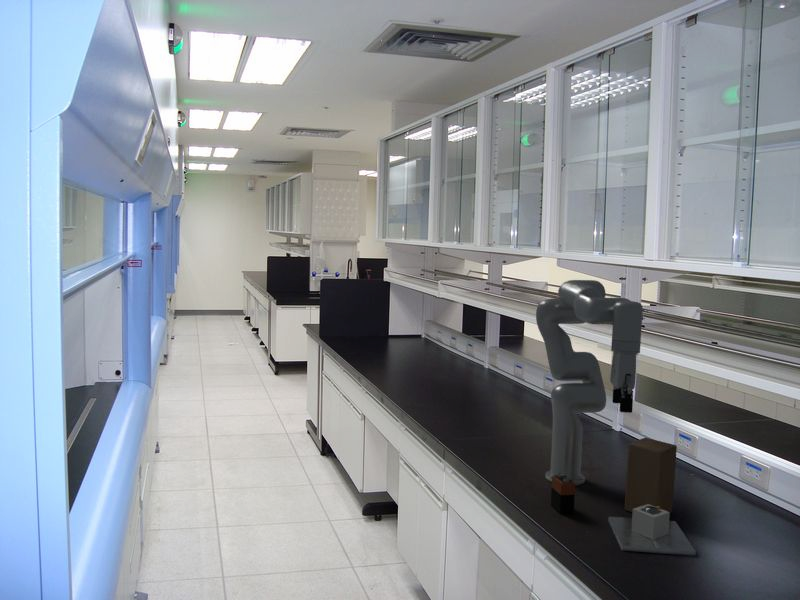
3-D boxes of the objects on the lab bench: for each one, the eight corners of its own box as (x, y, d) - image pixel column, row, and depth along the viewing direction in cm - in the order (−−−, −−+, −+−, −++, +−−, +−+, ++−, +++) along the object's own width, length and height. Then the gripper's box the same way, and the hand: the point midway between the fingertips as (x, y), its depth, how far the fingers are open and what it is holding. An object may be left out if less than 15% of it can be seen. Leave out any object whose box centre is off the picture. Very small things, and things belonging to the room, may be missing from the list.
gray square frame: (631, 530, 183) (632, 507, 183) (647, 525, 187) (648, 502, 187) (652, 539, 178) (654, 515, 177) (668, 534, 182) (670, 510, 181)
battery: (563, 504, 203) (565, 471, 202) (574, 513, 197) (576, 479, 196) (549, 505, 202) (551, 472, 201) (560, 514, 196) (562, 480, 195)
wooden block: (672, 512, 200) (677, 445, 198) (656, 521, 193) (661, 452, 191) (640, 501, 207) (644, 436, 205) (623, 510, 200) (628, 443, 198)
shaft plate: (608, 520, 192) (610, 493, 192) (674, 525, 191) (676, 497, 190) (621, 550, 175) (623, 520, 174) (695, 555, 173) (697, 525, 172)
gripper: (605, 340, 197) (602, 399, 199) (618, 351, 180) (614, 415, 182) (632, 341, 196) (629, 400, 198) (647, 352, 179) (643, 416, 181)
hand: (621, 407), depth 190 cm, fingers open, 9 cm apart
